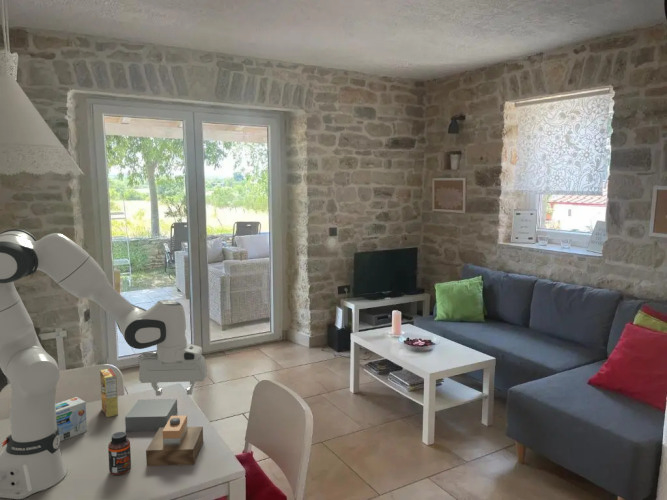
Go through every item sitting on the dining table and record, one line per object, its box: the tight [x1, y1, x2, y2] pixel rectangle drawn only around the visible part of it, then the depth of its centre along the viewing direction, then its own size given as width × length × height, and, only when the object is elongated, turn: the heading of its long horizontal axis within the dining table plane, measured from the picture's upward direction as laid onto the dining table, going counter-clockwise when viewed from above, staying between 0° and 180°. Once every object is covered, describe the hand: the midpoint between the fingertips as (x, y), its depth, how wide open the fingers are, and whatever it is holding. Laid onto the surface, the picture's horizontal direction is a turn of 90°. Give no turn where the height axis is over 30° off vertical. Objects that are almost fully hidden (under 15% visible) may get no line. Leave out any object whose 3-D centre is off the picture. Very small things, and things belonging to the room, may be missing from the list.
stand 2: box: [145, 426, 204, 467], centre depth 154 cm, size 14×14×5 cm
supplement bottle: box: [107, 431, 132, 476], centre depth 144 cm, size 6×6×11 cm
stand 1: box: [124, 398, 178, 432], centre depth 175 cm, size 14×14×5 cm
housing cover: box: [162, 414, 188, 439], centre depth 153 cm, size 10×5×4 cm, turn 3°
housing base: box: [163, 423, 188, 447], centre depth 153 cm, size 10×5×2 cm, turn 3°
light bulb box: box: [55, 396, 88, 442], centre depth 165 cm, size 11×7×11 cm, turn 143°
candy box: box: [99, 368, 119, 418], centre depth 181 cm, size 9×4×15 cm, turn 37°
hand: (174, 394), depth 152 cm, fingers open, 8 cm apart
